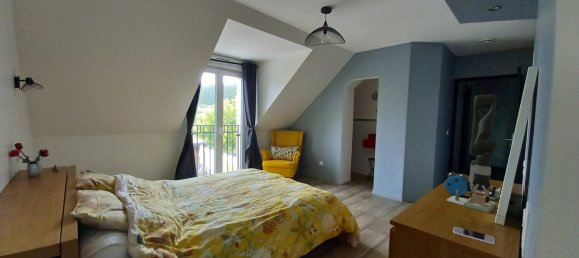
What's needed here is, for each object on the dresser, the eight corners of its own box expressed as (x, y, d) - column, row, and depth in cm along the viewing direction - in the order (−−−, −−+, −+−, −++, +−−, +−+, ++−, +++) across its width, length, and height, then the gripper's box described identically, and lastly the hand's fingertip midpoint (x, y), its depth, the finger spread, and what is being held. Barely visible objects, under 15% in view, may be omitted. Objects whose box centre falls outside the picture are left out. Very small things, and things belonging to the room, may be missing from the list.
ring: (476, 197, 148) (476, 190, 147) (488, 200, 143) (489, 193, 143) (471, 202, 141) (471, 194, 140) (484, 205, 136) (484, 197, 136)
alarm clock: (469, 196, 159) (470, 174, 158) (467, 198, 155) (469, 176, 153) (446, 191, 168) (447, 170, 167) (443, 193, 164) (445, 171, 163)
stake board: (452, 196, 158) (453, 185, 158) (469, 200, 151) (470, 189, 151) (446, 200, 150) (446, 189, 149) (463, 205, 143) (464, 194, 142)
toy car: (466, 181, 161) (469, 178, 169) (465, 195, 162) (468, 191, 170) (501, 187, 149) (503, 184, 157) (500, 203, 149) (501, 198, 158)
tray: (471, 200, 152) (471, 196, 152) (494, 206, 143) (495, 202, 143) (464, 206, 142) (464, 202, 142) (489, 213, 133) (489, 208, 133)
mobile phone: (495, 243, 101) (452, 231, 111) (495, 245, 101) (452, 233, 111) (494, 235, 107) (454, 225, 116) (494, 237, 107) (453, 227, 117)
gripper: (499, 174, 137) (496, 203, 138) (469, 169, 148) (466, 195, 149) (496, 176, 132) (494, 206, 134) (465, 171, 143) (463, 198, 145)
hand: (479, 200), depth 141 cm, fingers closed on ring, 6 cm apart
